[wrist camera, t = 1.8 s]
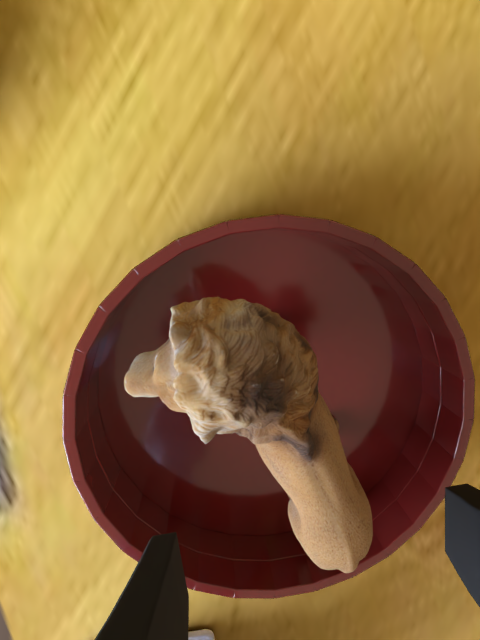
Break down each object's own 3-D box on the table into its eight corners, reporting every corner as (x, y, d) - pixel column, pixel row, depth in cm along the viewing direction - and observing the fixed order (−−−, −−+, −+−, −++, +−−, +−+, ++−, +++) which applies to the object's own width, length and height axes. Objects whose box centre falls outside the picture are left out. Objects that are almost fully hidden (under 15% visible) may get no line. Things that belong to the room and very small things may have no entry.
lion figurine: (139, 315, 18) (71, 395, 9) (233, 245, 17) (259, 258, 9) (312, 527, 21) (386, 739, 12) (394, 473, 21) (531, 650, 12)
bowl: (430, 512, 22) (472, 564, 18) (126, 563, 21) (109, 628, 17) (426, 197, 18) (478, 188, 14) (52, 244, 17) (12, 247, 13)
